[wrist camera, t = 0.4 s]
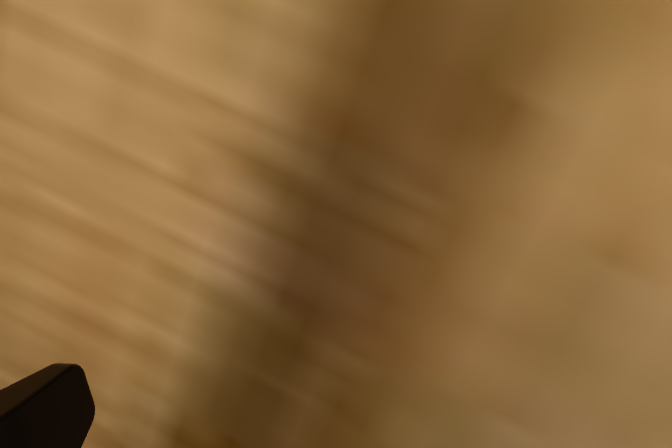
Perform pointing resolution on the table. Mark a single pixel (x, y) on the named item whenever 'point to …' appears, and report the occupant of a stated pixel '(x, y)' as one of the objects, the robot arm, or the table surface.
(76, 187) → the table surface
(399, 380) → the table surface
